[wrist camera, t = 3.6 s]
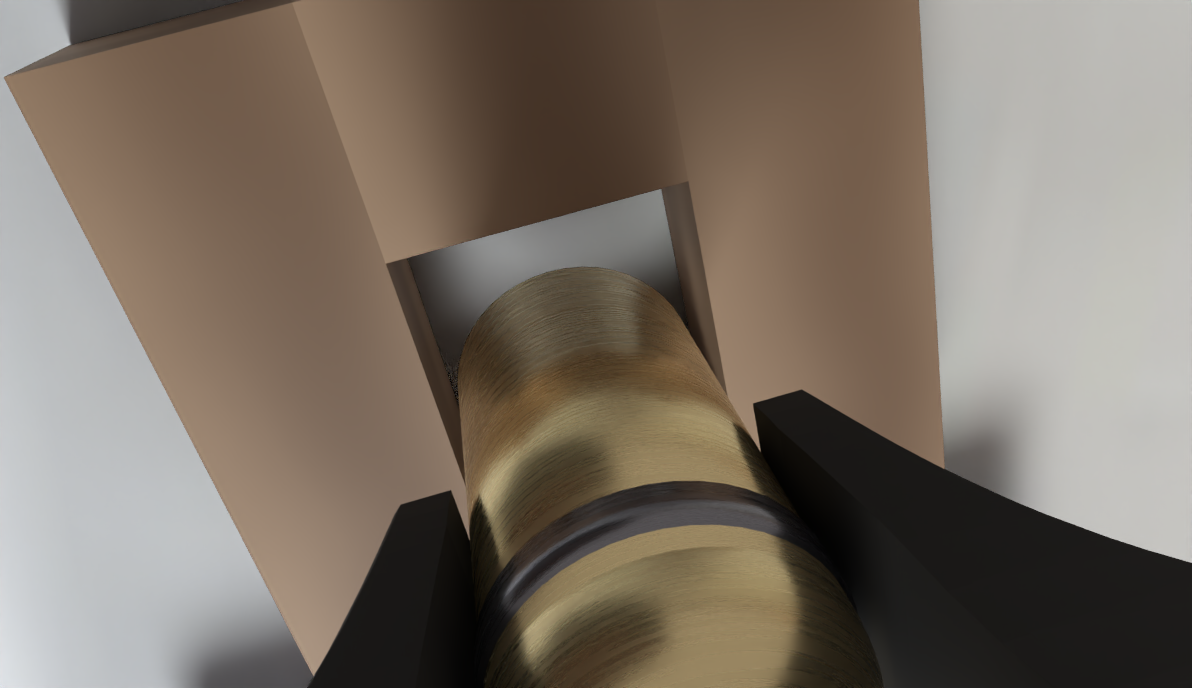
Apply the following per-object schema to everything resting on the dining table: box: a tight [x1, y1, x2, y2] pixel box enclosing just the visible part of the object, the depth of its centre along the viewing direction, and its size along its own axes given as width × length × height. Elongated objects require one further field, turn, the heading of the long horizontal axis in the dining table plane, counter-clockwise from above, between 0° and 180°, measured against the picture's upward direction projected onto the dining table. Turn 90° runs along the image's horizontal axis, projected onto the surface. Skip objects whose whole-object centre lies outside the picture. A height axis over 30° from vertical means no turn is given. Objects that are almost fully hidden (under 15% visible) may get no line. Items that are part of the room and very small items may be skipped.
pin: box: [458, 267, 884, 688], centre depth 11 cm, size 4×4×8 cm
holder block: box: [4, 0, 945, 676], centre depth 16 cm, size 12×12×2 cm
